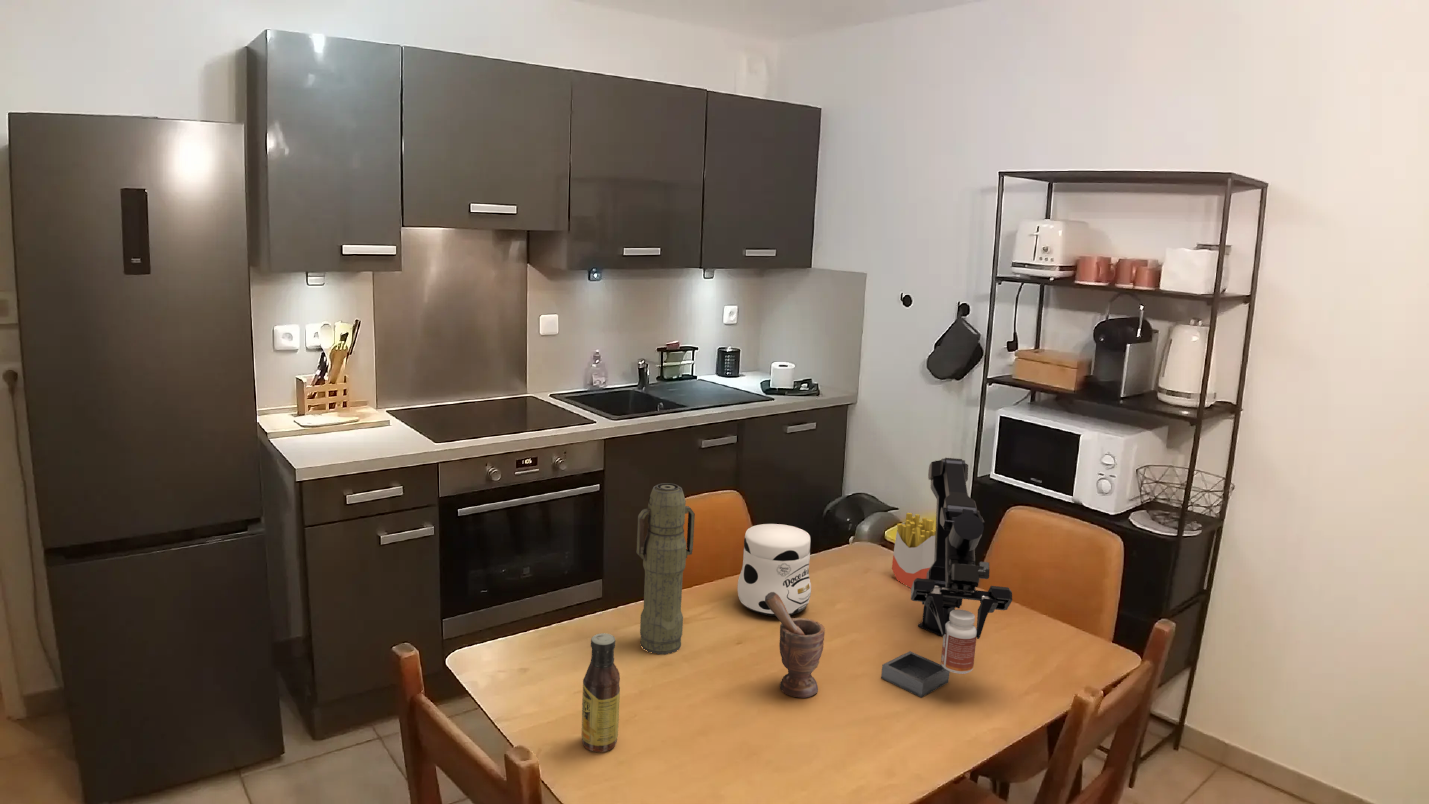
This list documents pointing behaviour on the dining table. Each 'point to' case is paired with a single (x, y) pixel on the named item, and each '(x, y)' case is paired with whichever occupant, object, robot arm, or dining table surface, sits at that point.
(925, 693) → the gray open box
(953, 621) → the pill bottle
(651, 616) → the thermos
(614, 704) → the sauce bottle
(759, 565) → the milk container
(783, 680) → the mortar and pestle
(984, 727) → the dining table surface
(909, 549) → the french fries container
